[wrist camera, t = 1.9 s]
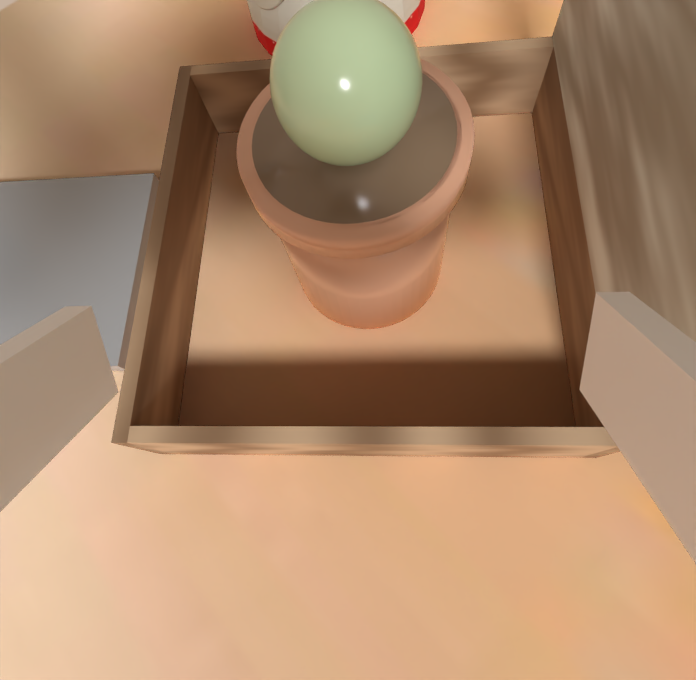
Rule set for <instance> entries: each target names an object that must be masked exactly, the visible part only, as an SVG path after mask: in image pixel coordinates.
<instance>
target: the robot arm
mask: <svg viewBox="0 0 696 680" xmlns="http://www.w3.org/2000/svg"><path fill="white" fill-rule="evenodd" d="M579 390H580V391H581V393H582V394H583V396H584V397H585V399H586V400H587V402H588V403H589V405H590V406H591V408H592V409H593V411H594V412H595V414H596V415H597V417H598V418H599V420H600V421H601V423H602V424H603V426H604V427H605V429H606V430H607V432H608V433H609V435H610V436H611V438H612V439H613V441H614V442H615V444H616V445H617V447H618V448H619V450H620V451H621V453H622V454H623V456H624V457H625V459H626V460H627V462H628V463H629V465H630V466H631V468H632V469H633V471H634V472H635V474H636V475H637V477H638V478H639V480H640V481H641V483H642V484H643V486H644V487H645V489H646V490H647V492H648V493H649V495H650V496H651V498H652V499H653V501H654V502H655V504H656V505H657V507H658V508H659V510H660V511H661V513H662V514H663V516H664V517H665V519H666V520H667V522H668V523H669V525H670V526H671V528H672V529H673V531H674V532H675V534H676V535H677V537H678V538H679V540H680V541H681V543H682V544H683V546H684V547H685V549H686V550H687V552H688V553H689V555H690V556H691V558H692V559H693V561H694V562H695V564H696V342H695V341H693V340H692V339H691V338H689V337H688V336H687V335H685V334H684V333H683V332H682V331H680V330H679V329H678V328H676V327H675V326H674V325H672V324H671V323H670V322H668V321H667V320H666V319H665V318H663V317H662V316H661V315H659V314H658V313H657V312H655V311H654V310H653V309H651V308H650V307H649V306H647V305H646V304H645V303H644V302H642V301H641V300H640V299H638V298H637V297H636V296H634V295H633V294H632V293H630V292H596V296H595V301H594V307H593V313H592V319H591V325H590V331H589V336H588V342H587V348H586V354H585V360H584V366H583V371H582V377H581V383H580V389H579ZM117 393H118V389H117V386H116V383H115V379H114V376H113V373H112V370H111V367H110V363H109V360H108V357H107V354H106V351H105V347H104V344H103V341H102V338H101V334H100V331H99V328H98V325H97V322H96V318H95V315H94V312H93V309H92V306H65V307H64V308H62V309H60V310H58V311H57V312H55V313H53V314H52V315H50V316H48V317H47V318H45V319H43V320H41V321H40V322H38V323H36V324H35V325H33V326H31V327H30V328H28V329H26V330H25V331H23V332H21V333H19V334H18V335H16V336H14V337H13V338H11V339H9V340H8V341H6V342H4V343H2V344H1V345H0V512H1V511H2V510H3V509H4V508H5V507H6V506H7V505H8V504H9V503H10V501H11V500H12V499H13V498H14V497H15V496H16V495H17V494H18V493H19V492H20V491H21V490H22V489H23V488H24V487H25V486H26V485H27V484H28V483H29V482H30V481H31V480H32V479H33V478H34V477H35V476H36V475H37V474H38V473H39V472H40V471H41V470H42V469H43V468H44V467H45V466H46V465H47V464H48V463H49V462H50V461H51V460H52V459H53V458H54V457H55V456H56V455H57V454H58V453H59V452H60V451H61V450H62V449H63V448H64V447H65V446H66V445H67V444H68V443H69V442H70V441H71V440H72V439H73V438H74V437H75V436H76V435H77V434H78V433H79V432H80V431H81V430H82V429H83V428H84V427H85V426H86V425H87V424H88V423H89V421H90V420H91V419H92V418H93V417H94V416H95V415H96V414H97V413H98V412H99V411H100V410H101V409H102V408H103V407H104V406H105V405H106V404H107V403H108V402H109V401H110V400H111V399H112V398H113V397H114V396H115V395H116V394H117Z"/></svg>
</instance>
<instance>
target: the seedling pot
mask: <svg viewBox="0 0 696 680" xmlns="http://www.w3.org/2000/svg"><path fill="white" fill-rule="evenodd" d="M269 79H270V83H269V84H268V85H267V86H266V87H265V88H264V89H263V90H262V91H261V92H260V94H259V95H258V96H257V98H256V99H255V100H254V101H253V103H252V104H251V106H250V108H249V109H248V111H247V113H246V115H245V117H244V119H243V122H242V124H241V127H240V131H239V134H238V140H237V148H236V151H237V164H238V169H239V174H240V176H241V179H242V181H243V184H244V186H245V188H246V190H247V192H248V195H249V197H250V199H251V201H252V203H253V205H254V207H255V209H256V210H257V212H258V214H259V215H260V217H261V218H262V220H263V221H264V222H265V223H266V225H267V226H268V227H269V228H270V229H271V230H272V231H273V232H275V233H276V234H277V235H278V236H279V237H280V238H281V240H282V242H283V244H284V247H285V249H286V251H287V253H288V256H289V258H290V260H291V262H292V265H293V267H294V269H295V271H296V274H297V276H298V278H299V281H300V283H301V285H302V287H303V290H304V292H305V294H306V296H307V297H308V299H309V301H310V302H311V303H312V304H313V306H314V307H315V308H316V309H317V310H318V311H319V312H320V313H322V314H323V315H325V316H326V317H327V318H329V319H331V320H333V321H335V322H336V323H339V324H342V325H345V326H349V327H353V328H361V329H374V328H381V327H386V326H390V325H393V324H396V323H398V322H400V321H403V320H404V319H406V318H408V317H410V316H411V315H412V314H414V313H415V312H417V311H418V310H419V309H420V308H421V307H422V306H423V305H424V304H425V303H426V301H427V300H428V299H429V298H430V296H431V295H432V293H433V291H434V289H435V287H436V285H437V282H438V279H439V275H440V270H441V264H442V258H443V252H444V246H445V240H446V234H447V228H448V222H449V216H450V212H451V211H452V209H453V208H454V207H455V205H456V203H457V202H458V200H459V198H460V197H461V194H462V192H463V189H464V187H465V185H466V181H467V177H468V173H469V168H470V163H471V158H472V153H473V148H474V136H475V132H474V121H473V117H472V114H471V110H470V107H469V105H468V103H467V101H466V99H465V97H464V95H463V94H462V92H461V91H460V89H459V88H458V86H457V85H456V84H455V83H454V82H453V81H452V80H451V79H450V77H448V76H447V75H446V74H445V73H444V72H442V71H441V70H440V69H438V68H437V67H435V66H434V65H432V64H431V63H429V62H427V61H425V60H423V59H421V58H420V55H419V51H418V48H417V45H416V43H415V40H414V38H413V36H412V34H411V32H410V31H409V29H408V27H407V26H406V24H405V23H404V22H403V21H402V19H401V18H400V17H399V16H398V15H397V14H396V13H395V12H394V11H393V10H392V9H391V8H389V7H388V6H387V5H385V4H384V3H382V2H381V1H379V0H313V1H311V2H309V3H308V4H306V5H305V6H304V7H302V8H301V9H300V10H299V11H298V12H297V13H296V14H295V15H294V16H293V17H292V18H291V19H290V20H289V22H288V23H287V24H286V26H285V27H284V29H283V31H282V32H281V34H280V36H279V38H278V41H277V43H276V45H275V48H274V52H273V56H272V60H271V66H270V78H269Z"/></svg>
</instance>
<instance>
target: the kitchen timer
mask: <svg viewBox="0 0 696 680" xmlns="http://www.w3.org/2000/svg"><path fill="white" fill-rule="evenodd" d="M311 1H313V0H247V3H248V7H249V10H250V14H251V18H252V21H253V24H254V28H255V31H256V34H257V37H258V40H259V41H260V43H261V44H262V45H263V46H264V48H265V49H266V50H267V51H268V53H269V54H270V55H272V56H273V52H274V48H275V45H276V43H277V41H278V38H279V36H280V34H281V32H282V31H283V29H284V27H285V26H286V24H287V23H288V22H289V20H290V19H291V18H292V17H293V16H294V15H295V14H296V13H297V12H298V11H299V10H300V9H301V8H302V7H304V6H305V5H306V4H308V3H309V2H311ZM379 1H381V2H382V3H384V4H385V5H387V6H388V7H389V8H391V9H392V10H393V11H394V12H395V13H396V14H397V15H398V16H399V17H400V18H401V19H402V21H403V22H404V23H405V24H406V26H407V27H408V29H409V31H410V32H411V34H412V33H413V32H414V30H415V29H416V28H417V27H418V25H419V22H420V19H421V16H422V13H423V11H424V6H425V0H379Z"/></svg>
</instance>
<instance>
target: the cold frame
mask: <svg viewBox="0 0 696 680" xmlns="http://www.w3.org/2000/svg"><path fill="white" fill-rule="evenodd" d="M417 48H418V51H419V55H420V58H421V59H423V60H425V61H427V62H429V63H431V64H432V65H434V66H435V67H437V68H438V69H440V70H441V71H442V72H444V73H445V74H446V75H447V76H448V77H450V79H451V80H452V81H453V82H454V83H455V84H456V85H457V86H458V88H459V89H460V91H461V92H462V94H463V95H464V97H465V99H466V101H467V103H468V105H469V107H470V110H471V114H472V117H473V116H488V115H503V114H519V113H532V117H533V124H534V131H535V138H536V145H537V153H538V160H539V167H540V174H541V181H542V188H543V195H544V203H545V210H546V217H547V224H548V231H549V238H550V245H551V253H552V260H553V267H554V274H555V281H556V288H557V296H558V303H559V310H560V317H561V324H562V331H563V338H564V346H565V353H566V360H567V367H568V374H569V381H570V388H571V396H572V403H573V410H574V417H575V424H576V427H368V426H178V421H179V414H180V407H181V399H182V392H183V385H184V378H185V370H186V363H187V356H188V349H189V341H190V334H191V327H192V320H193V312H194V305H195V298H196V291H197V283H198V276H199V269H200V262H201V254H202V247H203V240H204V233H205V225H206V218H207V211H208V204H209V196H210V189H211V182H212V175H213V167H214V160H215V153H216V146H217V138H218V133H226V132H239V131H240V127H241V124H242V122H243V119H244V117H245V115H246V113H247V111H248V109H249V108H250V106H251V104H252V103H253V101H254V100H255V99H256V98H257V96H258V95H259V94H260V92H261V91H262V90H263V89H264V88H265V87H266V86H267V85H268V84H269V83H270V79H269V78H270V66H271V60H272V59H269V60H256V61H244V62H231V63H219V64H207V65H194V66H182V67H180V69H179V74H178V80H177V85H176V90H175V96H174V101H173V107H172V112H171V118H170V123H169V129H168V134H167V140H166V145H165V151H164V156H163V162H162V167H161V173H160V178H159V184H158V189H157V195H156V200H155V206H154V211H153V217H152V222H151V228H150V233H149V239H148V244H147V250H146V255H145V261H144V266H143V271H142V277H141V282H140V288H139V293H138V299H137V304H136V310H135V315H134V321H133V326H132V332H131V337H130V343H129V348H128V354H127V359H126V365H125V370H124V376H123V381H122V387H121V392H120V398H119V403H118V409H117V414H116V420H115V425H114V431H113V436H112V442H111V443H115V444H119V445H124V446H128V447H133V448H137V449H141V450H146V451H150V452H155V453H159V454H232V455H345V456H459V457H573V458H597V457H601V456H605V455H608V454H612V453H616V452H620V450H619V448H618V447H617V445H616V444H615V442H614V441H613V439H612V438H611V436H610V435H609V433H608V432H607V430H606V429H605V427H604V426H603V424H602V423H601V421H600V420H599V418H598V417H597V415H596V414H595V412H594V411H593V409H592V408H591V406H590V405H589V403H588V402H587V400H586V399H585V397H584V396H583V394H582V393H581V391H580V390H579V389H580V383H581V377H582V371H583V366H584V360H585V354H586V348H587V342H588V336H589V331H590V325H591V319H592V313H593V307H594V301H595V296H596V292H630V293H632V294H633V295H634V296H636V297H637V298H638V299H640V300H641V301H642V302H644V303H645V304H646V305H647V306H649V307H650V308H651V309H653V310H654V311H655V312H657V313H658V314H659V315H661V316H662V317H663V318H665V319H666V320H667V321H668V322H670V323H671V324H672V325H674V326H675V327H676V328H678V329H679V330H680V331H682V332H683V333H684V334H685V335H687V336H688V337H689V338H691V339H692V340H693V341H695V342H696V0H564V1H563V4H562V7H561V10H560V14H559V17H558V20H557V23H556V26H555V29H554V32H553V35H552V37H541V38H529V39H517V40H504V41H492V42H479V43H467V44H455V45H442V46H430V47H417Z"/></svg>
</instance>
